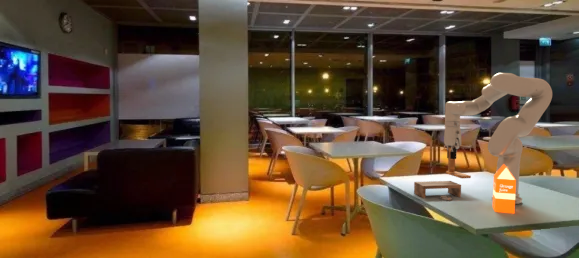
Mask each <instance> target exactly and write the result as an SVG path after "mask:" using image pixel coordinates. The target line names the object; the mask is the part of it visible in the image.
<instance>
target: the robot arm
mask: <svg viewBox="0 0 579 258" xmlns="http://www.w3.org/2000/svg"><path fill="white" fill-rule="evenodd" d="M506 95H512V96H517V97H522V98H529V99H528V100H527V101H526V102H524V104H523V106H522V107H521V108H520V110H519V111H518V113H517V114H516V115H514V116H508V117H506V118H504V119H503V120H502V121H501V122H499V124H498V126H497V127H496V129H495V130H494V132H493V134H492V135H491V137H490V138H489V140H488V143H487V150H488V152H489V154H490V155H492V156H494V157H497V162H496V172H497V171H498V170H499V169H500V168H501V166H502V165H503V164H504V165H505V166H506V167H507V169H508V170H509V171H510V173H511V174H512V176H513V177H514V178H515V180H516V192H515V205H519V204H522V201H523V198H522V197H520V193H519V190H520V189H519V185H520V167H521V159H522V158H521V157H522V152H523V142H522V140H521V139H520V138H522V137H526V136H528V135H529V134H531V132H532V131H533V129H534V128H535V126H536V125H537V123H538V122H539V120H540V119H541V117H542V116H543V114H544V113H545V112H546V110H547V109H548V107H549V106H550V103H551V101H552V98H553V90H552V87H551V85H550V84H549V83H548V82H547V80H545V79H542V78H537V77H524V76H519V75H517V74H514V73H512V72H498V73H496V74H494V75H492V77H491V79H490V83H489V84H487V85H486V86H483V88H482V89H481V96H479V97H477V98H475V99H473V100H462V101H447V102H445V108H444V134H443V144H444V146H445V148H446V153H447V154H446V158H447V159H448V147H451V152H450V159H455V160H456V159H457V152H458V150H459V149H460V147H461V146H462V131H461V130H462V129H461V116H462V117H464V116H466V117H467V116H476V115H478V114H480V113H482V112H484V111H485V110H487V109H489V108H490V107H491V106H492V105H493V103H494V102H496V101H498V100H499V99H501V98H503V97H504V96H506ZM491 201H493V196H492V197H491Z"/></svg>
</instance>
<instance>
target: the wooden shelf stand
mask: <svg viewBox="0 0 579 258" xmlns="http://www.w3.org/2000/svg"><path fill="white" fill-rule="evenodd" d="M413 185H414V187H413V188H414V190H413V194H414V193H415V194H414V195H416V196H419V197H420V198H422V199H426V195H427V194H426V191H427V190H432V189H433V190H434V189H436V190H437V189H438V190H439V189H440V190H441V189H447V193H449V194H451V195H453V196H455V197H458V198H461V197H462V184H460V183H457V182H455V181H452V180H439V181H438V180H435V181H434V180H433V181H432V180H431V181H414V183H413Z"/></svg>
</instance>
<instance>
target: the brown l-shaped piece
mask: <svg viewBox="0 0 579 258" xmlns="http://www.w3.org/2000/svg"><path fill="white" fill-rule="evenodd" d="M450 152H451V146H450V147H448V158H447V166H448V167H447V170H446V171H445V174H446V175H449V176H452V177H456V178H460V179H471V177H472V176H471V175H469V174H467V173H462V172H459V171H455V169H456V168H455V167H456V163H455V162H456V161H455V160H456V159H450Z"/></svg>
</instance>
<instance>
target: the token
mask: <svg viewBox="0 0 579 258" xmlns="http://www.w3.org/2000/svg"><path fill="white" fill-rule="evenodd" d="M440 200H441V201H449V202H450V201H452V196H449V195H441V196H440Z"/></svg>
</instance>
